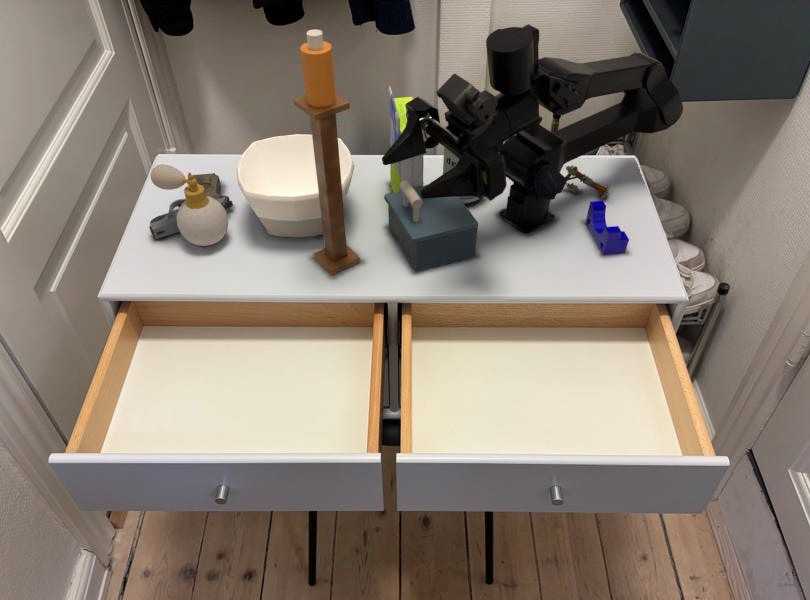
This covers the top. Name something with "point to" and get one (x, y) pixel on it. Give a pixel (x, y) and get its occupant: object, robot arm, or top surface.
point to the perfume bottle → (193, 207)
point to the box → (403, 169)
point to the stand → (329, 184)
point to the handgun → (168, 221)
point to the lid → (428, 214)
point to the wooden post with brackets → (586, 180)
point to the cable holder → (605, 230)
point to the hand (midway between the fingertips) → (401, 178)
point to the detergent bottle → (318, 70)
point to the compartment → (434, 246)
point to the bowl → (287, 183)
